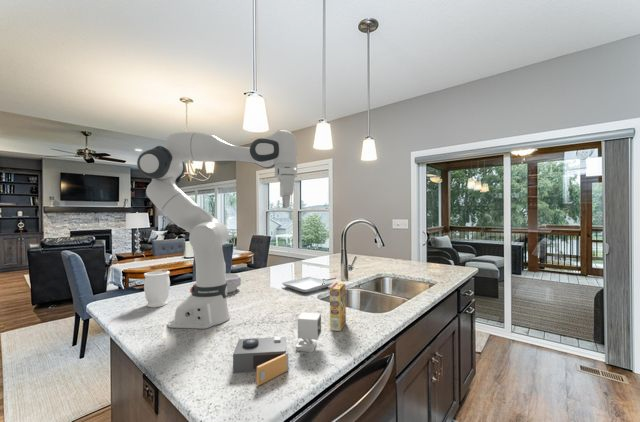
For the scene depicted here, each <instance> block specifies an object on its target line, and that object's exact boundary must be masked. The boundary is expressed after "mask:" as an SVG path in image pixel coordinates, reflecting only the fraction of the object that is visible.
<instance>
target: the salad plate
mask: <svg viewBox="0 0 640 422" xmlns="http://www.w3.org/2000/svg"><path fill="white" fill-rule="evenodd" d="M323 280H324V283H325V284H323V285H322V283H323ZM333 283H334V282H333V281H330V280H325V279H321V278H318V277H317V278H316V277H312V276H305V277H301V278H296V279H292V280H287V281H283V282H281V284H282V285H283V286H284V287H285V288H288V289H291V290H295V291H298V292H302V293H305V294H306V293H310V292H311V293H312V292H315V291H319V289H320V290H322V288H323V289H326V288H329V287H330V286H332V285H333Z"/></svg>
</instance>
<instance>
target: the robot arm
mask: <svg viewBox="0 0 640 422" xmlns="http://www.w3.org/2000/svg"><path fill="white" fill-rule="evenodd" d="M297 156H298V142H297V137H296V135H295V134H294V133H293V132H290V131H289V130H285V129H281V130H280V129H279V130H277V131H275V132H274V133H273V134H271V135H267V136H265V137H261V138H257V139H255V140H253V141H252V143H250V146H240V145H233V144H230V143H229V142H226V141H225V140H222V139H221V138H219V137H218V136H215V135H212V134H209V133H205V132H197V131H182V132H174V133H171V134H169V135H168V136H167V137H166V141H165V146H161V145H157V146H155V147H153V148H152V149H148V150H145V151H143V152H141V154H140V155H139V156H138V157H137V161H136V162H137V163H136V165H137V168H138V170H139V172H140V173H141V174H143V176H145V177H147V178H149V179H151V182H149V184H148V185H147V187H146V189H145V193H146V196H147V198H148V199H149V200H150V201H151V203H152V204H153V205H154V206H155V207H156V208H157V209H158V210H159V211H160V212H161V213H163V214H164V215H165V217H167V218H168V219H169V220H170V221H171V222H173V223H174V224H175V225H176V226H177V227H179V228H180V229H181V228H182V229H183V230H185V231H186V232H188V233H189V236H188V239H189V240H188V241H189V243H190V245H191V247H192V252H193V257H194V258H193V259H194V262H195V277H196V278H195V283H194V284H192V287H190V289H189V290H190V291H189V293H190V295H189V296H187V298H185V299H184V300H182V301H181V302H180V304H178V306H177V307H176V309H175V313H174V316H172V317H171V318H170V319H169V320H168V322H167V327H168V328H171V329H172V328H174V329H204V330H205V329H209V328H211V327H213V326H217V325H220V324H223V323H225V322H227V321H228V320H229V319H230V318H231V315H230V311H229V307H228V306H229V305H228V298H227V297H228V293H227V283H226V274H227V272H226V264H227V263H226V261H225V258H224V250H223V245H225V244H226V242H227V240H228V238H229V229H228V227H227V226H226V224H225V223H223V222H221V221H220V220H219V219H218V218H216V217H215V216H214V215H213V214H211V213H210V212H208V211H207V210H206V209H204V208H202V207H201V206H200V205H199V204H198V203H197V202H195V201H194V200H193V199H192V198H191V197H190V196H189V195H187V194H186V193H185V192H184V191H183V190H182V189H180V188H179V187H178V185H177V184H179V183H180V181H181V179H182V177H183V175H184V174H185V172H186V163H185V162H186V161H190V162H223V161H224V162H226V161H229V162H230V161H233V162H241V163H253V164H256V165H258V166H259V167H261V168H263V169H268V170H269V169H272V168H274V177H275V178H277V182H279V197H281V198H282V199H281V200H282V208H283V209H287V208H290V206H291V205H290V202H291V201H290V200H291V196H292V195H293V193H294V191H295V190H294V188H295V181H296V180H295V178H297V177H298V162H297Z"/></svg>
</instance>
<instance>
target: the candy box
mask: <svg viewBox="0 0 640 422" xmlns="http://www.w3.org/2000/svg"><path fill="white" fill-rule="evenodd" d="M346 299H347V298H346V283H345V282H335V283H334V284H332V285H331V287H329V319H330V320H329V325H330V326H329V328H330V329H329V330H330V331H335V332H341V331H342V329H343V328H344V326H345V325H346V322H347V312H346V311H347V309H346V308H347V305H346Z"/></svg>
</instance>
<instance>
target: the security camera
mask: <svg viewBox="0 0 640 422" xmlns="http://www.w3.org/2000/svg"><path fill="white" fill-rule="evenodd" d="M321 333H322V314H321V313H316V312H315V313H314V312H301V314H300V315H299V317H298V318H297V339H299V340H298V341H297V342H298V343H296V345H295V351H299V352H309V353H313V352H314V350H315V348H316V346H317V341H318V339H319V338H320V336H321Z"/></svg>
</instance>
